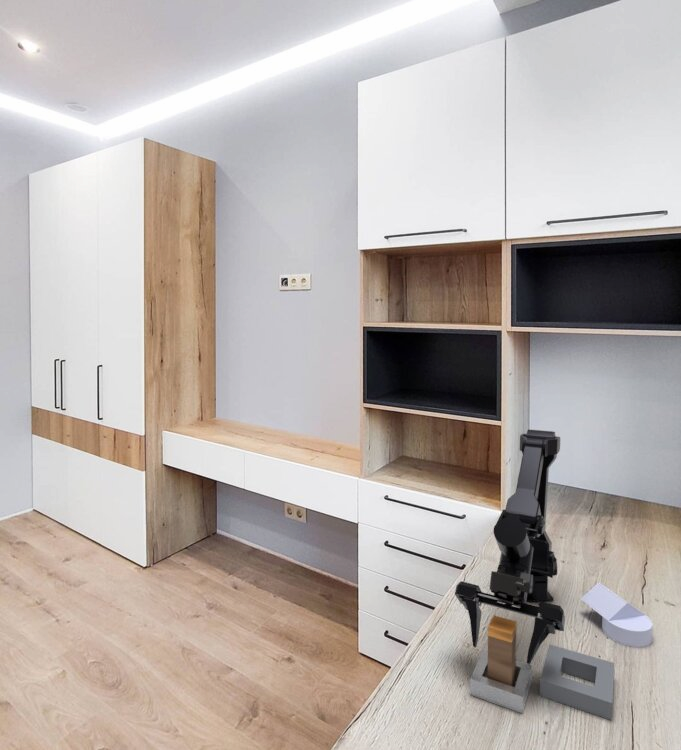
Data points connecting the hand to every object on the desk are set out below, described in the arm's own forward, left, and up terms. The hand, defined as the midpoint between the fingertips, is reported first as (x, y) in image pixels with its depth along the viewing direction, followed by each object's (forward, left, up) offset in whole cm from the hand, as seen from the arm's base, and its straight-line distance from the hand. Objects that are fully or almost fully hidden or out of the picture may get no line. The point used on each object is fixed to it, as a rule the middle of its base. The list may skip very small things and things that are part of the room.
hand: (500, 654), depth 87 cm
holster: (-1, +1, -7) cm, 7 cm away
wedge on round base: (-16, +32, -7) cm, 37 cm away
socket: (0, +14, -7) cm, 16 cm away
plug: (-1, +1, -7) cm, 7 cm away
